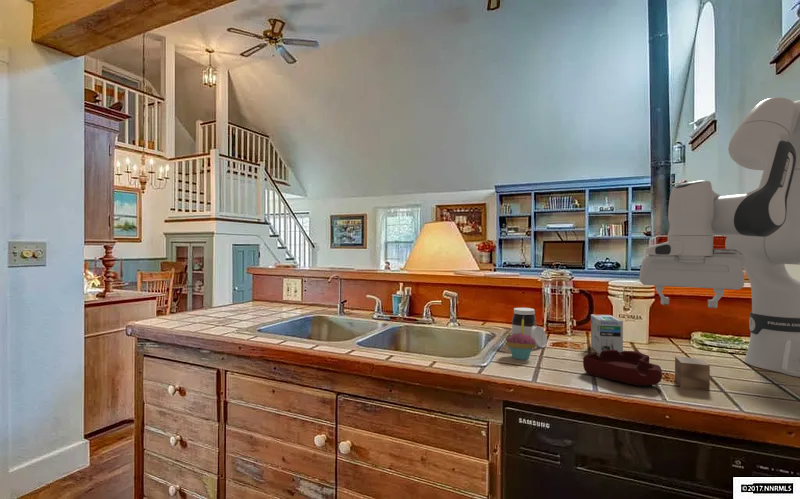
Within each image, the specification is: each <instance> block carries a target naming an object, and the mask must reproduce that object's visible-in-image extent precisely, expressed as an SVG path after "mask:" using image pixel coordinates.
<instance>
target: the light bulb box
mask: <svg viewBox="0 0 800 499" xmlns="http://www.w3.org/2000/svg"><path fill="white" fill-rule="evenodd" d="M623 332H624V321H623V320H621V319H619V318H617V317H615V316H613V315H611V314H590V347H591V348H592V349H593V350H594V351H595V353H597V354H598V355H600V353H601V352H602V351H605V350H618V352H623V351H624V344H623V343H624V342H623V341H624V339H623V338H624V333H623Z"/></svg>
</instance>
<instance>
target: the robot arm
mask: <svg viewBox="0 0 800 499" xmlns="http://www.w3.org/2000/svg"><path fill="white" fill-rule="evenodd" d="M727 150H728V154H729V156H730V158H731V160H733V162H735V163H736V164H737V165H739V166H741V167H743V168H745V169H748V170H754V171H762V176H761V177H760V178H761V179H760V182H759V185H758V187H757V188H756V189H754V190H751V191H748V192H746V193H741V194H730V195H729V194H728V195H721V194H719V193H716V192H715V191H714V190H713V185H712V182H711V181H710V180H706V179H703V180H702V179H701V180H695V181H689V182H682V183H681V182H680V183H678V184H675V185H674V186H673V187H672V189H671V192H670V195H669V198H668V199H669V200H668V211H667V216H668V217H667V220H668V223H669V229H668V233H667V241H665V242H659V243H658V244H653V245H649V246H647V247H646V249H645V253H646V255H647V256H645V257H644V258H643V259H642V261H641V265H640V271H639V276H638V277H639V280H638V281H639V283H641V284H642V285H644V286H655V291H656V292H657V293H658V295H659V297H660V304H661V305H663V306H669V305H670V297H668V296H665V295H664V293H663V291H664V290H665V287H676V288H678V287H679V288H695V289H697V288H698V289H699V288H700V289H713V293H715V295H714V296H713V297H712V299H707V307H708V308H709V309H718V306H719V305H718V303H719V302H718V301H720V299H721V298H722V297H723V296H724V295H725V290H736V291H737V290H742V288H743V287H745V277H744V276H745V275H744V271H745V274H746V276H747V278H748V281H749V283H750V290H751V312H749V319H748V320H749V322H748V324H749V326H748V328H749V332H750V336H749V337H750V338H749V343H748V348H747V351H746V354H745V356H744V359H743V362H745V363H746V364H748V365H750V366H753V367H756V368H760V369H763V370H767V371H773V372H777V373H782V374H784V375H789V376H793V377H799V378H800V280H797V279H795V278H793V277H792V276H791V275H790V274H789V272H788V271H787V268H786V266H785V265H798V266H799V265H800V99H798V100H794V101H793V100H791V99H789V98H786V97H781V96H780V97H777V96H775V97H769V98H766V99H764V100H762V101H760V102H758V103H757V104H756V105H754V107H752V109H751V110H750V111H749V112H748V113H747V114H746V115H745V117H744V118H743V119H742V121H741V122H740V123H739V125H738V127H737V129H735V132H733V134H732V137H731V139H730V141H729V143H728V149H727ZM714 236H723V237H726V238H725V242H724V244H725V245H724V246H725V248H724V249H723V248H714ZM743 270H744V271H743Z"/></svg>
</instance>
